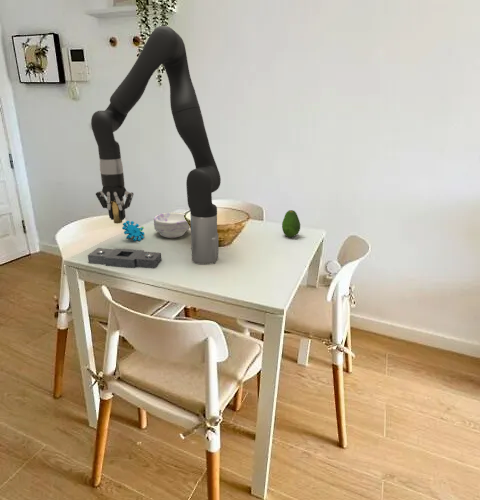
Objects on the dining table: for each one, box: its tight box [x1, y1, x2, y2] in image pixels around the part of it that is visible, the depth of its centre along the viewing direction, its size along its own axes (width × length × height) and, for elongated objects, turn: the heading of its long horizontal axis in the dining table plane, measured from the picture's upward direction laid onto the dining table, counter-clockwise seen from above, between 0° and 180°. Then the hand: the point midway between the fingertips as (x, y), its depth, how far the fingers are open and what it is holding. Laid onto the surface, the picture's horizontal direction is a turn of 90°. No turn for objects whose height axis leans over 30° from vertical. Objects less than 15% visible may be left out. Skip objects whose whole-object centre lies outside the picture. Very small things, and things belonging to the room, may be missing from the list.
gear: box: [122, 220, 145, 242], centre depth 149 cm, size 11×6×10 cm
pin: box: [111, 200, 123, 225], centre depth 130 cm, size 3×3×8 cm
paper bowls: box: [153, 212, 191, 239], centre depth 154 cm, size 15×15×8 cm
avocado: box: [281, 209, 301, 238], centre depth 154 cm, size 8×8×12 cm
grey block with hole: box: [87, 247, 162, 269], centre depth 126 cm, size 24×9×4 cm, turn 82°
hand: (117, 219), depth 131 cm, fingers closed on pin, 3 cm apart
